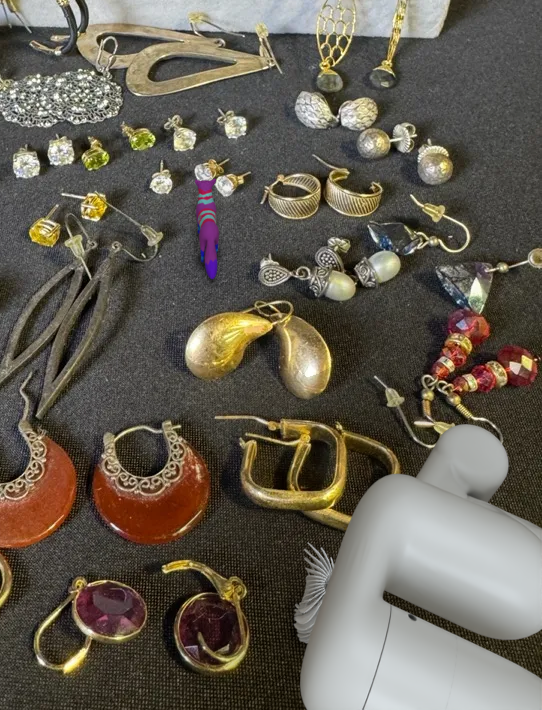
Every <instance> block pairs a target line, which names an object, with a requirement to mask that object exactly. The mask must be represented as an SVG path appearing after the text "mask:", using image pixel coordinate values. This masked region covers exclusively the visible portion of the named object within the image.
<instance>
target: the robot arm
mask: <svg viewBox="0 0 542 710" xmlns="http://www.w3.org/2000/svg"><path fill="white" fill-rule="evenodd" d="M508 472H509V457H508V453H507V451H506V448H505V447H504V445H503V443H502V442H501V441H500V440H499V438H498V437H497V436H495V434H494V433H492V432H491V431H489V430H487V429H485V428H484V427H481V426H479V425H475V424H467V423H466V424H465V423H463V424H457V425H454V426H451V427H449V428H448V429H446V430H445V431H443V433H442V434H441V435H440V436H439V438H438V439H437V441H436V443H435V445H434V446H433V448H432V450H431V452H430V453H429V454H428V457H427V458H426V460H425V462H424V463H423V465H422V466H421V468H420V470H419V472H418V473H417V474H416V476H412V475H409V474H404V473H392V474H388V475H385V476H383V477H381V478H379V479H378V480H376V481H375V482H374V483H373V484H372V485H371V486H369V488H367V490H366V491H365V493H364V494H363V496H362V497H361V499H360V500H359V502H358V503H357V505H356V507H355V509H354V512H353V513H352V515H351V518H350V520H349V521H348V525H347V528H346V530H345V532H344V535H343V538H342V539H341V543H340V547H339V550H338V553H337V556H336V559H335V562H334V568H332V574H331V577H330V580H329V583H328V586H327V589H326V592H325V594H324V597H323V600H322V603H321V606H320V609H319V612H318V615H317V618H316V620H315V623H314V626H313V629H312V632H311V635H310V638H309V641H308V643H306V647H305V651H304V655H303V659H302V663H301V669H300V679H299V680H300V682H299V688H300V697H301V699H302V702H303V706H304V708H305V709H306V710H542V678H541V677H539V676H538V675H536V674H535V673H533V672H531V671H530V670H528V669H526V668H524V667H522V666H521V665H519V664H517V663H515V662H513V661H511V660H509V659H507V658H505V657H503V656H501V655H499V654H496V653H495V652H492V651H491V650H488V649H486V648H484V647H483V646H480V645H478V644H476V643H473V642H472V641H470V640H467V639H465V638H464V637H461V636H459V635H457V634H455V633H452V632H450V631H448V630H447V629H444V628H442V627H440V626H438V625H436V624H433V623H431V622H429V621H427V620H425V619H422V618H421V617H418V616H416V615H414V614H412V613H410V612H408V611H406V610H403V609H401V608H400V607H397V606H395V605H393V604H390V603H389V602H387V601H385V600H384V592H387V593H389V594H391V595H393V596H395V597H398V598H400V599H401V600H404V601H406V602H408V603H410V604H412V605H414V606H416V607H418V608H421V609H423V610H425V611H427V612H429V613H431V614H433V615H436V616H438V617H441V618H442V619H445V620H447V621H449V622H451V623H453V624H455V625H456V626H459V627H461V628H463V629H466V630H467V631H470V632H472V633H475V634H477V635H480V636H483V637H486V638H489V639H494V640H495V639H496V640H502V641H513V640H515V641H516V640H520V639H526V638H528V637H531V636H532V635H535V634H537V633H539V632H540V631H541V630H542V527H540V526H538V525H537V524H534V523H532V522H531V521H528V520H526V519H524V518H521V516H520V517H519V516H517V515H515V514H513V513H510V512H508V511H506V510H504V509H502V508H500V507H499V506H496V505H495V504H491V503H489V502H490V500H491V499H492V497H493V496H494V495H495V493H496V492H497V491H498V490H499V488H500V487H501V486H502V485H503V483H504V481H505V479H506V478H507V475H508Z"/></svg>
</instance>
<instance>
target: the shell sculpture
mask: <svg viewBox="0 0 542 710" xmlns="http://www.w3.org/2000/svg"><path fill="white" fill-rule="evenodd" d="M307 544H308V546H310V548H311V549H312V550H313V551H314V553H315V554H316V555H317V557H318V558H317V557H315V556H314V555H312V554H311V552H310V551H309V550H308V549H306V548H304V549H303V551H304V552H305V553H306V554H307V555H309V556H310V558H311V559H312V560H313V562H314V563H313V562H311V560H310V559H309V558H307V557H306V556H305V557H303V560H304V561H306V562H307V563H308V564H309V566H310V567H311V568H308V567H304V568H305V570H306V572H307V575H306V577H305V582H306V583H305V589H304V593H303V597H302V599H301V602H299V604H298V603H295V605H294V606H295V607H296V608H294V609H293V610H294V612H295V613H294V615H293V616H294V617H293V620H294V621H296V622H295V623H293V626H294V628H295V629H296V632H297V634H296V636H297V638H298V640H299V642H303V643H305V644H308V641H309V638H310V635H311V632H312V629H313V626H314V623H315V620H316V618H317V615H318V612H319V609H320V606H321V603H322V600H323V597H324V594H325V592H326V589H327V586H328V583H329V580H330V577H331V574H332V571H333V568H334V565H335V562H334V560H333V558H332V556H331V557H330V560H329V557H328V554H327V553H326V551H325V550H324V549H323V547H320V550H321V552H322V554H323V555H322V554H321V553H320V552H319V550H317V549H316V548H315V547H314V546H313V545H312V544H311V543H309V541H308V542H307ZM330 561H331V563H330Z"/></svg>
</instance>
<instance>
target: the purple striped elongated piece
mask: <svg viewBox="0 0 542 710" xmlns="http://www.w3.org/2000/svg"><path fill="white" fill-rule="evenodd" d="M216 182H217V178H213V179H211V180H208V179H202V180H199V179H194V184H195V185H196V187H197V192H198V196H197V204H196V206H195V219H196V224H197V230H196V231H195V233H196V235H197V236H198V240H199V248H200V258H199V263H200V264H204V268H205V271H206V274H207V276H208V278H209V279H210V280H214V279H215V278H216V276H217V273H218V250H219V240H220V230H219V226H218V225H217V211H218V210H217V206H216V203H215V201H214V196H213V187H214V186H215V184H216Z"/></svg>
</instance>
